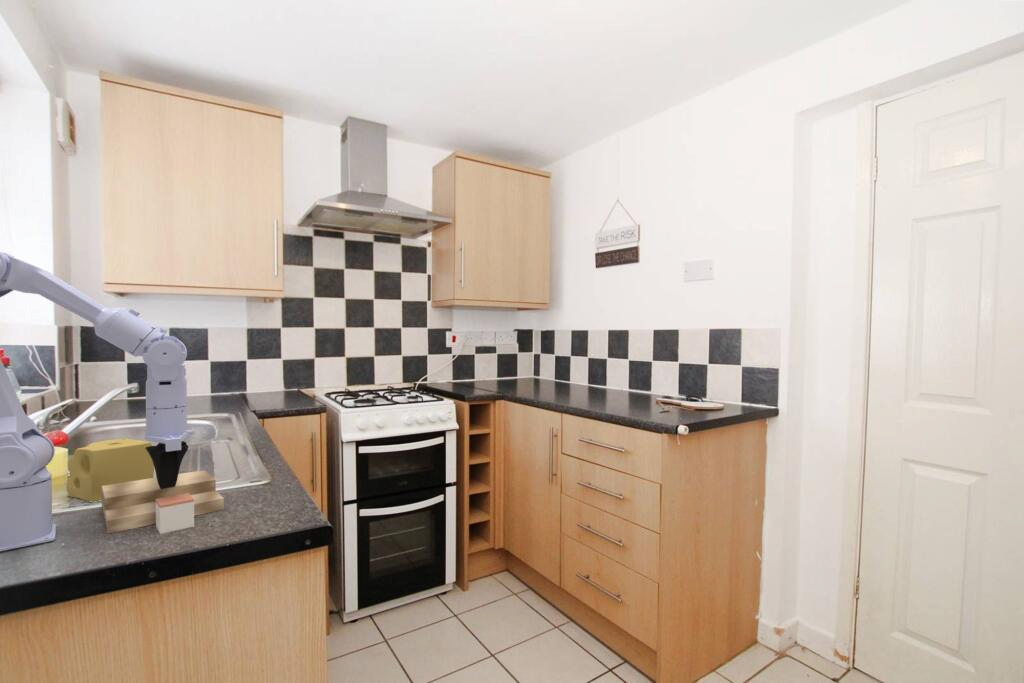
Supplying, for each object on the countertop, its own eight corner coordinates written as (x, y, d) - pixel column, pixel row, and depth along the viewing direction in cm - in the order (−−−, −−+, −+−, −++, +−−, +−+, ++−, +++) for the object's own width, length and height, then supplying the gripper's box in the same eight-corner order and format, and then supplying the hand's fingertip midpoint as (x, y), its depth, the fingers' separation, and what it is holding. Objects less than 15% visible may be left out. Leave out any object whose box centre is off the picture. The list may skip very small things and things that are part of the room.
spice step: (107, 533, 77) (107, 508, 77) (102, 508, 89) (101, 485, 89) (223, 509, 87) (223, 487, 87) (204, 489, 100) (204, 469, 100)
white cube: (155, 499, 80) (155, 526, 80) (160, 505, 77) (160, 534, 77) (188, 493, 83) (188, 519, 83) (193, 499, 80) (194, 526, 80)
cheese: (66, 497, 96) (65, 445, 96) (129, 482, 106) (129, 436, 106) (91, 504, 91) (91, 450, 91) (156, 489, 101) (155, 440, 101)
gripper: (202, 408, 81) (203, 491, 81) (187, 401, 92) (187, 474, 92) (149, 413, 76) (150, 500, 76) (139, 404, 87) (140, 481, 87)
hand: (167, 487), depth 84 cm, fingers closed
